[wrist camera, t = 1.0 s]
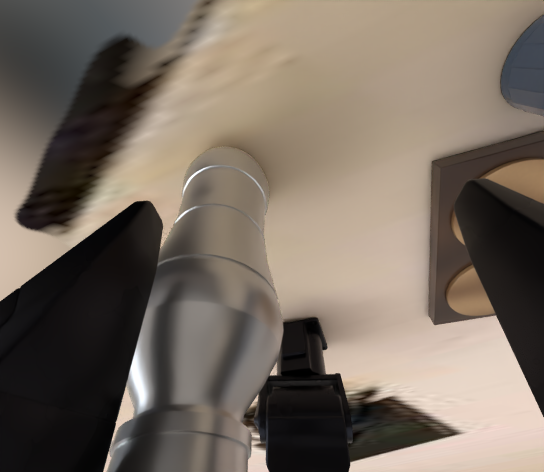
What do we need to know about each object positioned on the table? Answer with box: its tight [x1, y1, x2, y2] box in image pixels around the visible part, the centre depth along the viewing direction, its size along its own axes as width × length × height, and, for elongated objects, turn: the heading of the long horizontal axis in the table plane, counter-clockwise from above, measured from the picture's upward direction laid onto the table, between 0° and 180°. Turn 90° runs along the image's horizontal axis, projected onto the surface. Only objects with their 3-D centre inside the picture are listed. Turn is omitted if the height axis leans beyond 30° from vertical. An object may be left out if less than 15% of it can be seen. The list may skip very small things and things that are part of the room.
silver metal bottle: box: [107, 146, 284, 472], centre depth 14 cm, size 6×7×20 cm
